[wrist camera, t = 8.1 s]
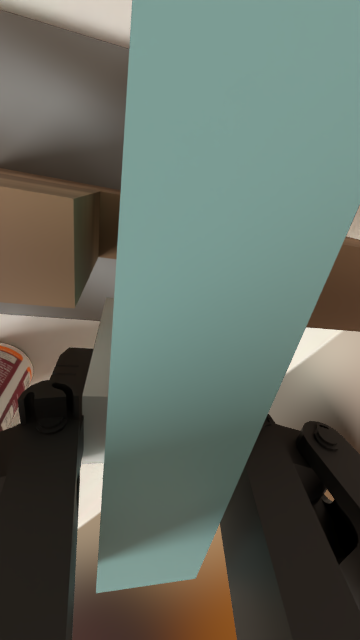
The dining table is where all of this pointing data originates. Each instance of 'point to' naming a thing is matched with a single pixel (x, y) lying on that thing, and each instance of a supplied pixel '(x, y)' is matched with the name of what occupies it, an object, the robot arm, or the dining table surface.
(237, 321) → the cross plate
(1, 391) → the pill bottle
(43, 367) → the dining table surface
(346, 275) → the slotted stand
